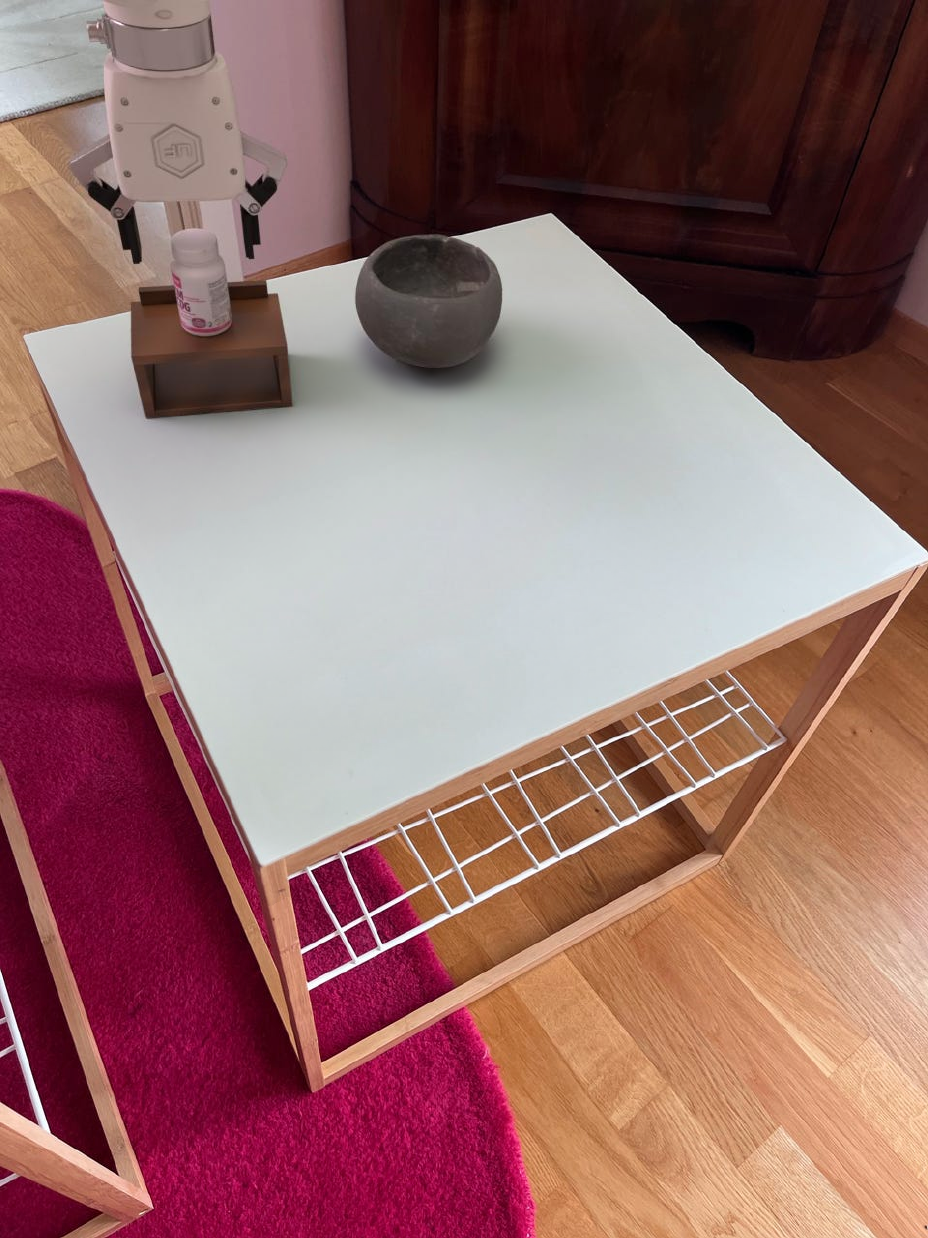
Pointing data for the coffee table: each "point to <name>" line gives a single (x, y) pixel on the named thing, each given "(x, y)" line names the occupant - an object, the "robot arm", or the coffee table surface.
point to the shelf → (210, 355)
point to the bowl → (429, 300)
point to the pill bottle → (200, 282)
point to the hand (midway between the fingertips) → (194, 253)
